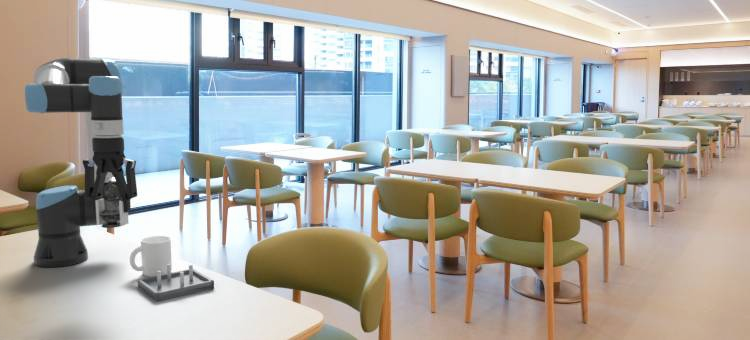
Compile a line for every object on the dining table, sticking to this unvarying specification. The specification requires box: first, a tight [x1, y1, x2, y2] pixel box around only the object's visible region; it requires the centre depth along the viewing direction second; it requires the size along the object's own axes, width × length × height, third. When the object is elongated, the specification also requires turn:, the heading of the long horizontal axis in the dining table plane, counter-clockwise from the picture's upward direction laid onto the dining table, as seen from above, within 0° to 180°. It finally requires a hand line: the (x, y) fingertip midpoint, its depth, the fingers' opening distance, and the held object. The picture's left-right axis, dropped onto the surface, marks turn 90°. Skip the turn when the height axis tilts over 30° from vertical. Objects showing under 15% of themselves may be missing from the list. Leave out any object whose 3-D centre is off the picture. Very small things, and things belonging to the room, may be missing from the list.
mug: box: [129, 235, 173, 278], centre depth 174 cm, size 12×8×10 cm
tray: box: [136, 264, 215, 303], centre depth 163 cm, size 14×16×6 cm
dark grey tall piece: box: [99, 181, 121, 229], centre depth 155 cm, size 6×6×12 cm
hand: (112, 223), depth 155 cm, fingers closed on dark grey tall piece, 6 cm apart
